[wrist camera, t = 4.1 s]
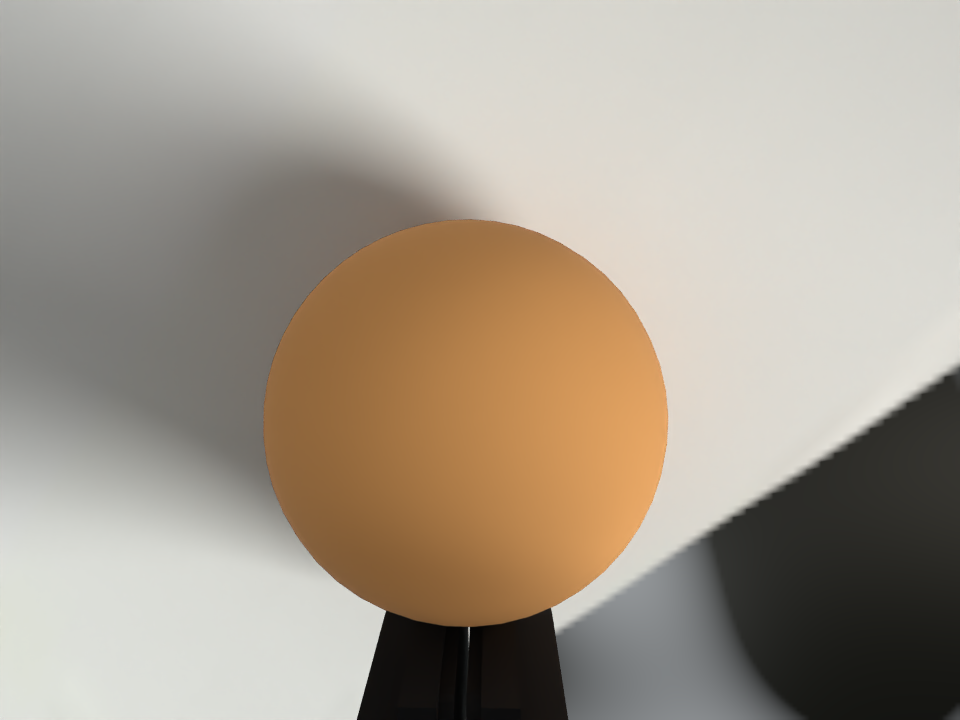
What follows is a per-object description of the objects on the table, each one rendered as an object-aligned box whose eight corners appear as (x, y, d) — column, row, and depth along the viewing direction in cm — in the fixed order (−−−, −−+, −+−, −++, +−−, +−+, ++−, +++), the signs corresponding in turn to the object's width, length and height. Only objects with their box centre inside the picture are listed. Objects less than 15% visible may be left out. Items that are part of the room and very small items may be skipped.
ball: (629, 318, 12) (718, 122, 6) (628, 613, 10) (752, 722, 4) (367, 307, 13) (228, 122, 7) (324, 582, 11) (89, 641, 5)
